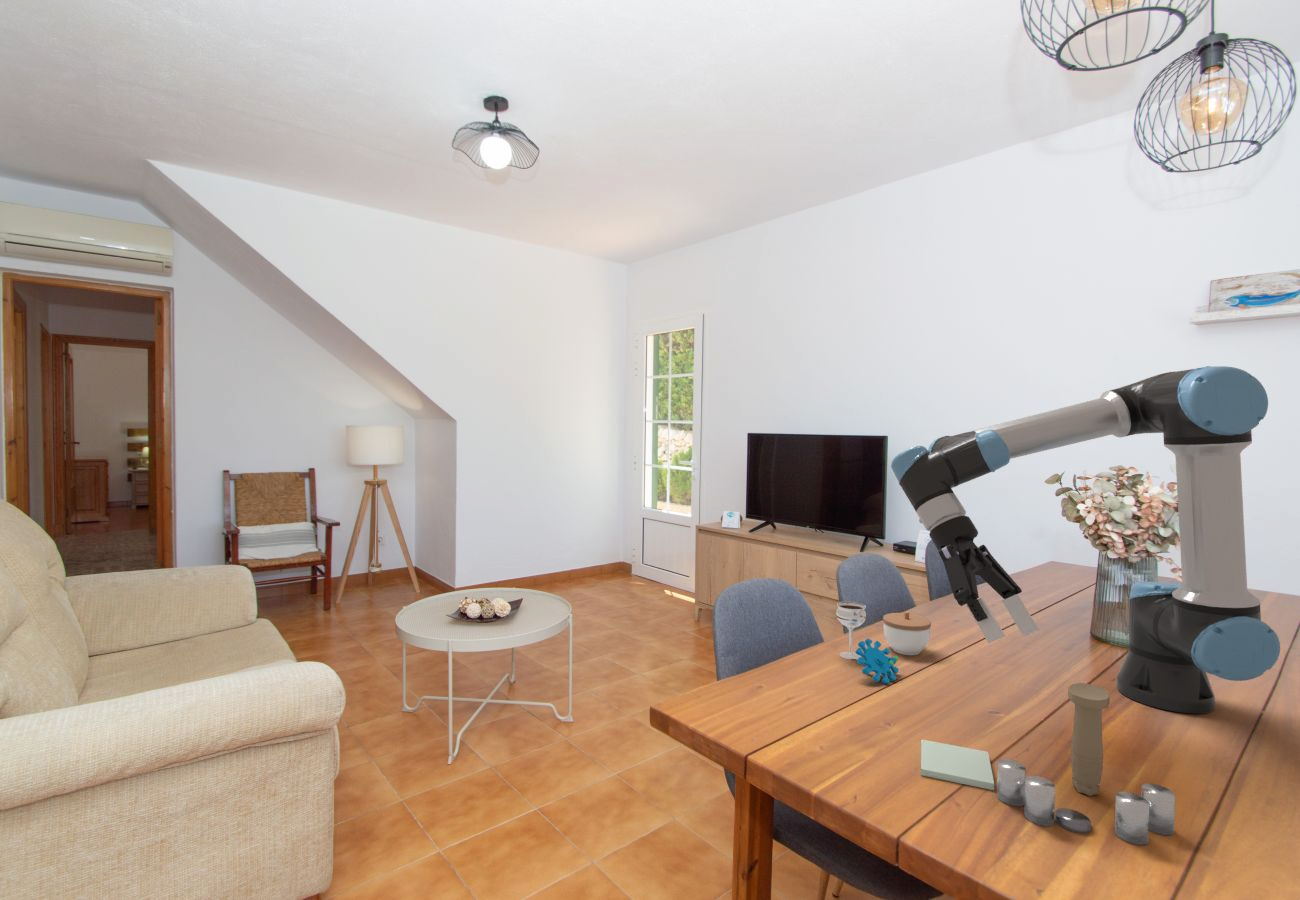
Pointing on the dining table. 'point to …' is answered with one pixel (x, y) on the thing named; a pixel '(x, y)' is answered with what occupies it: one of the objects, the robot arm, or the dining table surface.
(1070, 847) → the dining table surface
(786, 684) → the dining table surface
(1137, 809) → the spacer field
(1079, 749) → the handle
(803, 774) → the dining table surface
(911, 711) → the dining table surface
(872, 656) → the gear
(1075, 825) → the disc
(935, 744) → the pad
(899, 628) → the lidded jar
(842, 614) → the wineglass
